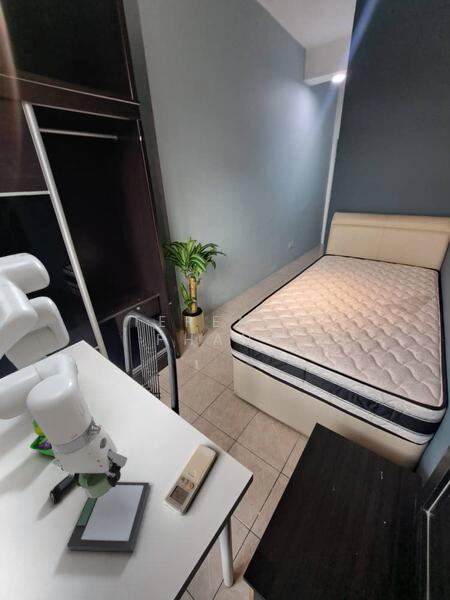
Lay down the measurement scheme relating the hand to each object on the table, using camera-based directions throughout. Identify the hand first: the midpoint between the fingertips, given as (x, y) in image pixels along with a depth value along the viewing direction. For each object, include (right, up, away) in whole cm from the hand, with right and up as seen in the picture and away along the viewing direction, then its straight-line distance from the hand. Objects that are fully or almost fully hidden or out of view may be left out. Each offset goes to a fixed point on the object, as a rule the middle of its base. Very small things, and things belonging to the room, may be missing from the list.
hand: (100, 479), depth 56 cm
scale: (0, -14, +6) cm, 15 cm away
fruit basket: (-26, -5, +24) cm, 36 cm away
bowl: (0, -1, +1) cm, 1 cm away
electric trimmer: (-13, -10, +15) cm, 22 cm away
